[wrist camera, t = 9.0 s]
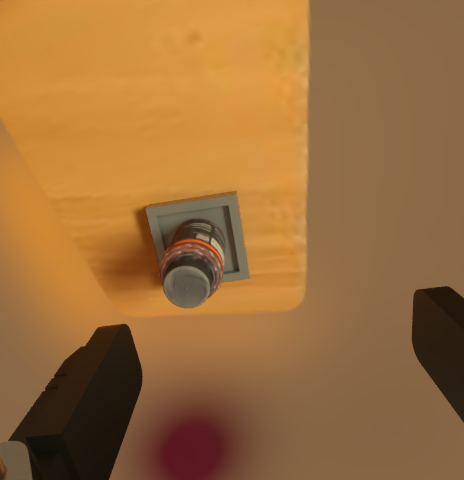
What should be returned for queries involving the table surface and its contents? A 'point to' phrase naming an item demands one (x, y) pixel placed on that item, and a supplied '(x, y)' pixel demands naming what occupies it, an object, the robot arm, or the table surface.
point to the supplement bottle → (193, 263)
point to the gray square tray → (211, 208)
